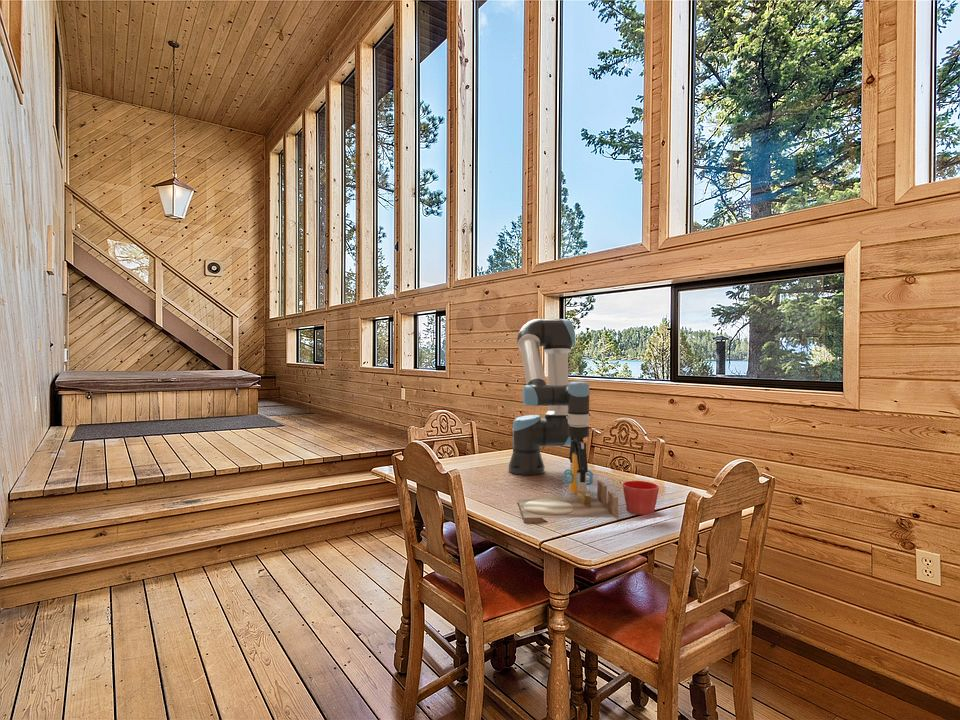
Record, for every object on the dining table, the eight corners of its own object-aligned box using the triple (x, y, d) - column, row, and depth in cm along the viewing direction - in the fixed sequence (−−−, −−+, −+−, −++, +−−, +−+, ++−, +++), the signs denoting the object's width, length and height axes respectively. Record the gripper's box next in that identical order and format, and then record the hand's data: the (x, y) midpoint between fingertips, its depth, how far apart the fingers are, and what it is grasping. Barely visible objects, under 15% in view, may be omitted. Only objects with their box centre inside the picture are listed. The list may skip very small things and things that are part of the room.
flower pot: (633, 507, 174) (633, 478, 174) (664, 515, 166) (665, 484, 166) (615, 514, 167) (616, 484, 167) (647, 523, 159) (647, 491, 159)
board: (517, 502, 180) (517, 480, 179) (601, 501, 180) (602, 480, 180) (524, 522, 160) (524, 498, 159) (619, 521, 161) (619, 497, 160)
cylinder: (593, 501, 181) (593, 457, 181) (562, 499, 183) (562, 456, 183) (592, 491, 193) (593, 450, 193) (563, 489, 195) (564, 449, 195)
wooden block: (577, 501, 176) (577, 492, 175) (584, 500, 177) (584, 492, 176) (584, 505, 172) (584, 496, 172) (590, 504, 173) (590, 495, 173)
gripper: (561, 420, 199) (561, 477, 200) (575, 431, 175) (574, 495, 176) (581, 420, 200) (580, 477, 200) (597, 431, 176) (597, 495, 176)
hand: (577, 486), depth 188 cm, fingers closed on cylinder, 12 cm apart
